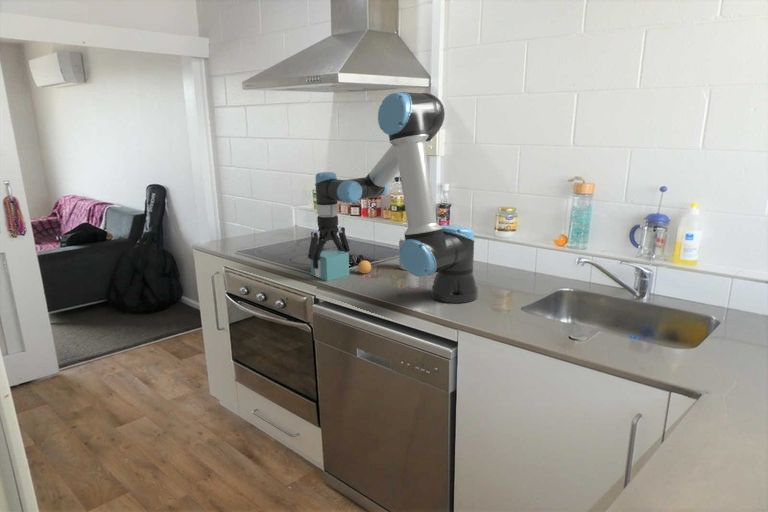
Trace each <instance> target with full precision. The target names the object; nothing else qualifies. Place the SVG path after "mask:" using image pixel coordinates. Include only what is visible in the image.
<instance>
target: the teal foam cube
mask: <svg viewBox="0 0 768 512" xmlns="http://www.w3.org/2000/svg"><path fill="white" fill-rule="evenodd" d="M309 260H310V276H311V275H313V276H312V277H314V276H315V268H314V267H313V260H312V259H309ZM319 260H320V262H321V277H318V278H317V276H316V277H315V278H317V279H319V278H320V280H323V281H326V282H331V281H335V280H338V279H341V278H345V277H349V276H350V271H349V263H350V255H349V252H344V251H340V250H338V248H337V249H336V248H333V247H331V248H328V249H322V252H321V254H320V257H319Z"/></svg>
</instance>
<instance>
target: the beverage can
mask: <svg viewBox="0 0 768 512" xmlns="http://www.w3.org/2000/svg"><path fill="white" fill-rule="evenodd" d="M403 242H405V236H404V237H401V238H399V242H398V249H399V250H398V252H399V251H400V248H401V245H402V243H403ZM398 256H399V258H398V260H399V261H398V262H399V265H398V266H399V268H400V269H401V270H403V271H407V270H406V269H405V268H404V266H403V264H402V262H401V260H400V255H399V254H398Z"/></svg>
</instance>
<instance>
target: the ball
mask: <svg viewBox="0 0 768 512" xmlns="http://www.w3.org/2000/svg"><path fill="white" fill-rule="evenodd" d="M357 264H358V269H357V271H358V272H360V273H361V274H364V275H365V274H367V273H369V272H370V271H371V270H372V265H371V263H370V262H369V261H368V260H365V259H364V260H361V261H359V263H357Z"/></svg>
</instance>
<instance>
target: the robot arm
mask: <svg viewBox="0 0 768 512" xmlns="http://www.w3.org/2000/svg"><path fill="white" fill-rule="evenodd" d="M445 114H446V113H445V108H444V105H443V103H442V101H441V100H440V99H439V98H438V97H437V96H436V95H434V94H432V93H430V92H421V93H420V92H406V91H401V92H399V91H398V92H393V93H390V94H387V95H386V96H385V97H384V99H383V100H382V101H381V104H380V105H379V107H378V112H377V123H378V127H379V128H380V130H381V131H382V132H383V133H384V134H386V135H388V139H389V143H390V144H391V146H390V147H389V148H388V149H387V150H386V152H385V153H384V154H383V156H382V157H380V159H379V161H378V162H377V163H376V164H375V166H373V168H372V169H371V170H370V172H368V173H367V175H366V176H364V177H358V178H350V179H340V178H339V179H338V178H337V173H336V172H332V171H326V172H325V171H323V172H322V171H321V172H318V173H316V174H315V184H314V185H315V198H316V214H317V215H318V216H317V218H316V220H317V227H318V230H317V231H311V233H310V242H309V243H310V245H309V248H308V249H309V250H308V254H307V258H308V259H309V260H310V259H312V260H313V267H314V268H315V276H317V277H321V262H320V260H319V257H320V254H321V252H322V250H324V246H325V244H327V242H329V241H333V244H334V245H335V246H336V248H337V250H340V251H344V252H347V253H349V252H350V247H349V245H350V244H349V243H348V242H349V241H348V239H347V236H346V228H345V227H343V226H339V227H338V225H339V216H338V213H339V209H338V202H343V203H347V204H349V203H352V204H353V203H357V202H358V201H359V200H360V201H361V200H363V199H371V198H372V199H373V198H379V197H383V196H385V195H386V194H387V192H388V189H389V183H390V181H392V179H393V178H394V177H396V175H397V174H398V172H399V176H400V177H399V178H400V182H401V189H402V195H403V203H404V209H405V215H406V221H407V229H406V230H405V232H404V234H403V235H404V237H405V242H403V243H402V245H401V248H400V251H399V250H398V256H399V255H400V260H401V262H402V264H403V266H404V268H405V269H406V270H405V271H408V273H409V274H410V275H412V276H414V277H425V276H431V275H434V274H435V273H436V274H435V277H434V278H435V279H434V280H433V284H432V287H431V297H432V298H433V299H435V300H437V301H439V302H443V303H448V304H449V303H450V304H451V303H452V304H462V303H469V302H473V301H474V300H477V299H478V297H479V289H478V286H477V282H476V279H475V275H474V253H475V252H474V250H475V233H474V230H473V228H470V227H466V226H460V225H446V224H445V225H444V224H443V225H440V224H438V222H437V217H436V216H437V215H436V210H435V205H434V197H433V192H432V191H433V190H432V185H431V177H430V170H429V165H428V157H427V152H426V145H425V143H426V142H430V141H432V139H433V138H434V137H435V136H436V135H437V134H438V132H439V131H440V130H441V128H442V126H443V124H444V121H445ZM317 277H316V278H317Z"/></svg>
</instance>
